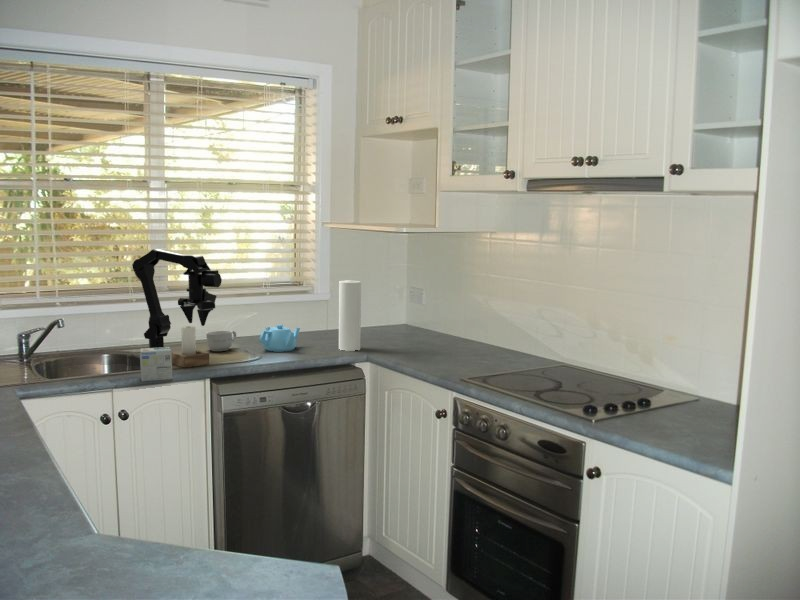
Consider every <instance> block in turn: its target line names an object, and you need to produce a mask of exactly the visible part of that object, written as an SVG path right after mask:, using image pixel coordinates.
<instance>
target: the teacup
mask: <svg viewBox="0 0 800 600" xmlns="http://www.w3.org/2000/svg"><path fill="white" fill-rule="evenodd" d="M205 335H206V345H207V348H209V349H210V350H211V351H212V352H223V351H228V350H229V349H231V347H232V345H233V342H234V341H235V340H236V338H237V332H236V331H235V330H216V331H215V330H212V331H208V332H206V333H205Z"/></svg>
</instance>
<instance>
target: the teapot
mask: <svg viewBox="0 0 800 600" xmlns="http://www.w3.org/2000/svg"><path fill="white" fill-rule="evenodd" d="M300 330H301V328H300V327H295V328H294V329H293V331H292V330H291V329H290V328H289V327H285V326H284V325H283V324H276V327H269V326H266V327H265V330H261V331H260V332H261V333H260V336H259V339H258V342H259V343H261V345H263V347H264V349H265V350H266V351H268V352H272V351H273V352H274V353H285V352H284V351H286V352H291V351H294V350H295V348H296V346H297V341H298V337H299V333H300ZM273 352H272V353H273Z"/></svg>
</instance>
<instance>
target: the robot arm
mask: <svg viewBox="0 0 800 600" xmlns="http://www.w3.org/2000/svg"><path fill="white" fill-rule="evenodd" d="M160 261H163V262H164V261H165V262H169V263H174V264H178V265H181V266H182V267H183V268H185V269H186V270H185V271H184V272H183V276H187V277H188V288H186V292H188V297H180V298H179V299H178V300H177V306H179V308H180V309H181V310H182V313H183V314H184V315H185V318H186V319H187V322H188V323H189V324H192V323H193V315H194V309H195V308H197V309H196V311H197V316H198V319H199V322H200V324H201V325H200V326H202V327H204V326H205V325H206V323H207V318H208V315H209V314H210V313H211V312H212V311H214V309H216V299H217V295H215V294H213V293H210V292H209V290H208V291H207V289H206V287H208V288H219V287H221V285H222V281H223V280H222V276H221V274H220V272H219V270H211V267H210V266H209V265H208V263H207V262H206V259H205V257H204V256H203V255H202V254H183V253H177V252H172V251H170V250H169V251H168V250H163V249H161V248H155V249H154V248H153V249H151V250H150V251H149V252H147V253H146V254H144V255H143V256H141V257H139V258H136V259H135V260H134V261H133V263H132V265H131V266H132V270H133V273H134V274H135V277H137V278H138V280H139V281H140V283H141V286H142V290H143V294H144V298H145V301H146V305H147V309H148V312H149V317H148V329H147V330H146V331H145V332H143V336H144V339H146V340H148V348H162V347H165V345H164V344H165V341H164V337H167V336H168V334H169V331H170V330H171V325H172V322H171V320H170V316H169V314H165V313H164V312H163V310H162V307H161V302H160V299H159V296H158V292H157V288H156V285H155V280H154V277H155V271H156V270H155V266H156V265H158V263H159V262H160Z"/></svg>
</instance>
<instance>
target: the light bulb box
mask: <svg viewBox="0 0 800 600" xmlns="http://www.w3.org/2000/svg"><path fill="white" fill-rule="evenodd" d="M171 352H172V348H171V346H164V347H162V348H149V347H148V348H147V347H146V348H140V349H139V360H140V361H139V363H140V364H139V365H140V380H141V382H151V381H165V380H167V381H168V380H173V364H172V354H171Z"/></svg>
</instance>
